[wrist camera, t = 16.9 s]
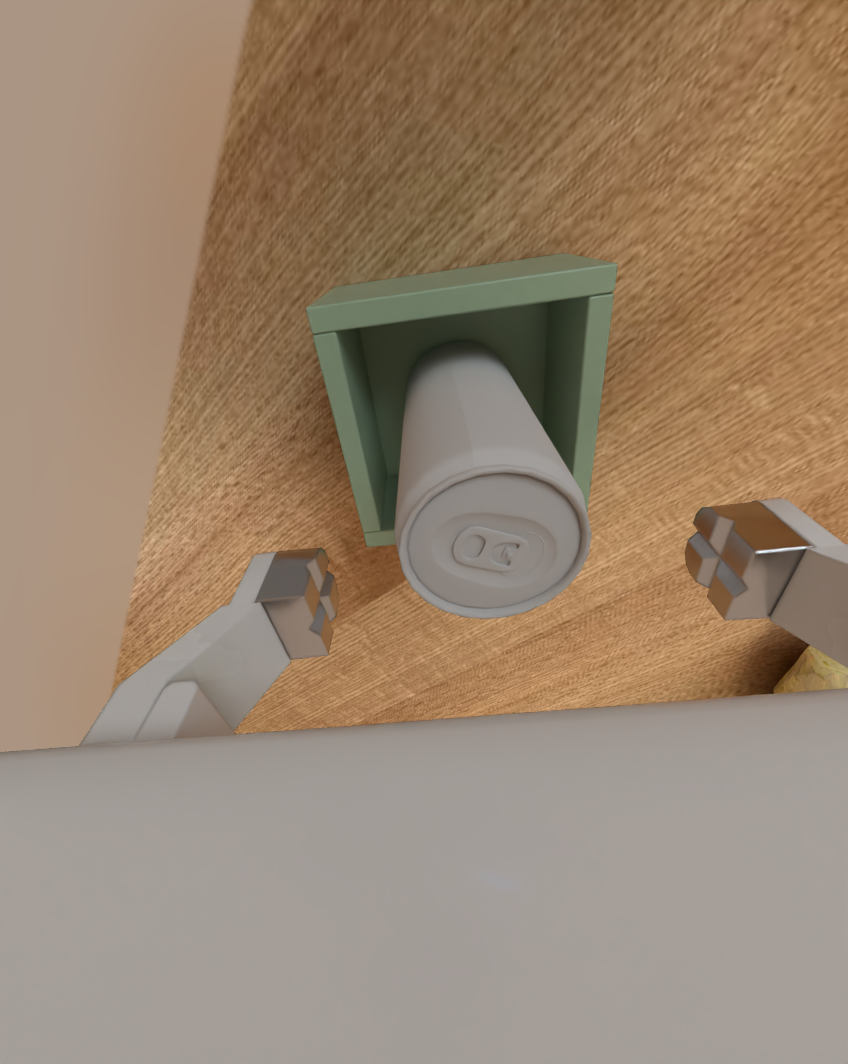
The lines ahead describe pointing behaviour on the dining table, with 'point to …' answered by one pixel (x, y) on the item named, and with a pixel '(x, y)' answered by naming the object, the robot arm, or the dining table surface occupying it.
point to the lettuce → (813, 674)
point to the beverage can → (482, 491)
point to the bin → (474, 316)
